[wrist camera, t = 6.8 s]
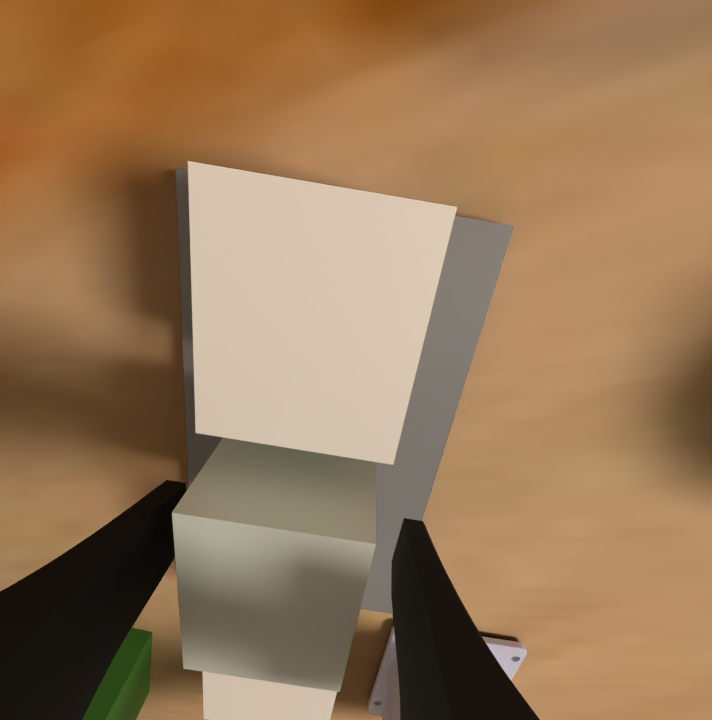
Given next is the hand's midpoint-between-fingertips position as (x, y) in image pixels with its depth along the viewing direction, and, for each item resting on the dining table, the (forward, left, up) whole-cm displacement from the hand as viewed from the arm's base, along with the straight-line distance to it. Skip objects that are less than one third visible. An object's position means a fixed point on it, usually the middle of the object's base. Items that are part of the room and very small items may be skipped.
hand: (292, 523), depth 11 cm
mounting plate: (0, 0, -5) cm, 5 cm away
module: (0, 0, -3) cm, 3 cm away
